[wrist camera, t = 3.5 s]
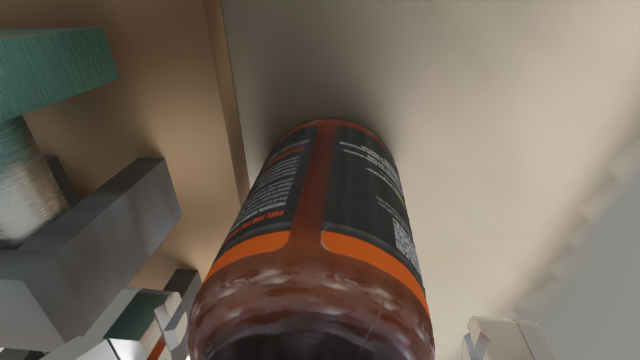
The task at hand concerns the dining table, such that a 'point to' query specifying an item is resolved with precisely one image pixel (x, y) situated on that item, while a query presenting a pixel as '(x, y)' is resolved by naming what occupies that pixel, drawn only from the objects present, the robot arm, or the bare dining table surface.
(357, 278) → the supplement bottle
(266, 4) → the dining table surface
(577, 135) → the dining table surface
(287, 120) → the dining table surface
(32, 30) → the shaft
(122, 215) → the rail
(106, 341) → the robot arm
